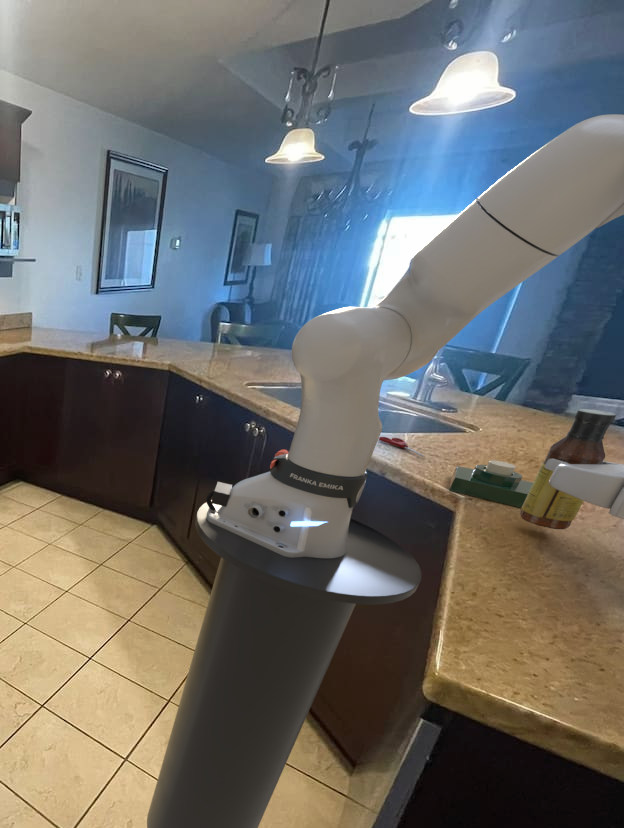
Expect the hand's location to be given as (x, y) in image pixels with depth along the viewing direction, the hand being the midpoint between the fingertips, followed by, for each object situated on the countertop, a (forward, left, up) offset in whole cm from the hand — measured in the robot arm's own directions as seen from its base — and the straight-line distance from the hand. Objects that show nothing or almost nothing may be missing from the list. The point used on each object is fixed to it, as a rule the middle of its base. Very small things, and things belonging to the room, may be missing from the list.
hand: (569, 463), depth 81 cm
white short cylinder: (-5, +19, -9) cm, 21 cm away
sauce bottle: (0, 0, -11) cm, 11 cm away
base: (-5, +19, -13) cm, 23 cm away
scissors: (-21, +41, -13) cm, 48 cm away
